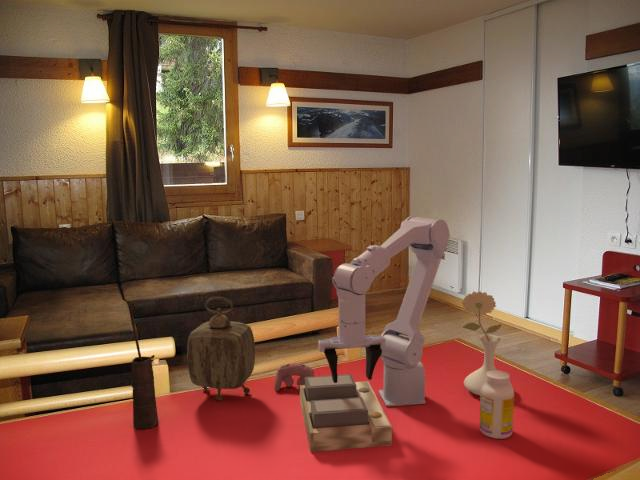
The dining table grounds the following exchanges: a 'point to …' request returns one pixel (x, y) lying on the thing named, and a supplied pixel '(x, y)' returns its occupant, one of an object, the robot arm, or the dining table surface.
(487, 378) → the supplement bottle
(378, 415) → the switch panel
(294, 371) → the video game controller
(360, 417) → the brown block
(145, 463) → the dining table surface
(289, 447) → the dining table surface
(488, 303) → the flower in vase
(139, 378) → the butter churn
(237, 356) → the tabletop clock
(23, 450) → the dining table surface
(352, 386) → the key grey
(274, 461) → the dining table surface
